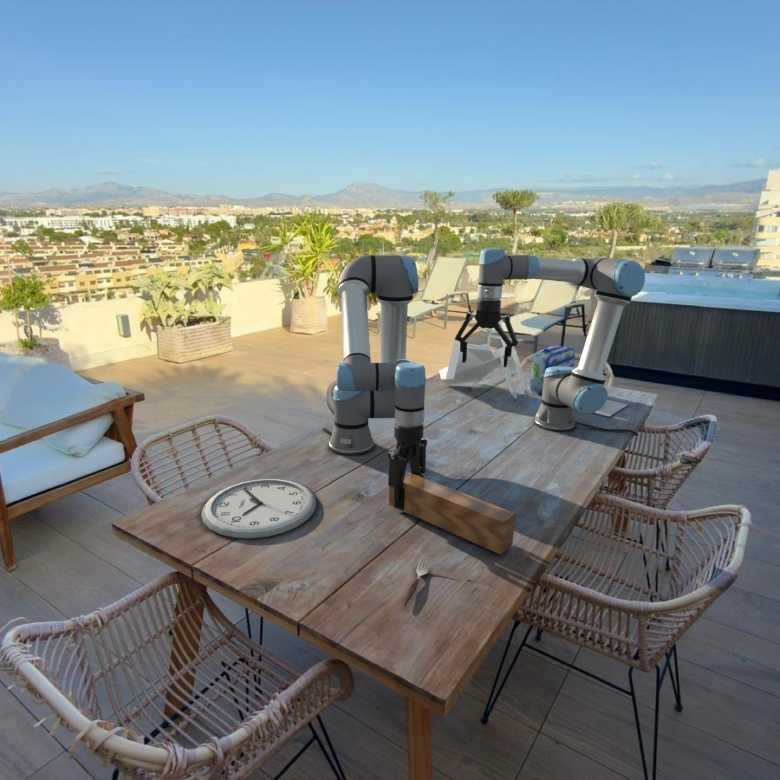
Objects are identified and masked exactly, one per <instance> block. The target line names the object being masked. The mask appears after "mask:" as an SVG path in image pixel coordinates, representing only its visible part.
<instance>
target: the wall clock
mask: <svg viewBox="0 0 780 780" xmlns="http://www.w3.org/2000/svg"><path fill="white" fill-rule="evenodd" d="M316 508H317V499H316V496H315V495H314V493H313V492H312V491H311V490H310V489H308V488H307V487H305V486H304V485H302V484H299V483H297V482H294V481H292V480H291V481H290V480H285V479H277V478H264V479H263V478H262V479H253V480H248V481H242V482H239V483H236V484H233V485H230V486H228V487H226V488H223V489H222V490H220V491H218V492H217V493H216V494H214V495H213V496H212V497H210V498H209V499H208V500H207V501H206V503H205V504H204V506H203V507H202V511H201V520H202V522H203V524H204V525H205V526H206V527H207V529H209V530H210V531H212V532H214V533H216V534H218V535H221V536H225V537H230V538H233V539H260V538H269V537H272V536H277V535H280V534H283V533H286V532H289V531H292V530H293V529H296V528H298V527H300V526H301V525H302V524H304V523H306V522H307V521H308V520H309V519H310V518H311V517H312V515H313V514H314V513H315V510H316Z"/></svg>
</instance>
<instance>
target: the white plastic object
mask: <svg viewBox="0 0 780 780" xmlns="http://www.w3.org/2000/svg"><path fill="white" fill-rule="evenodd" d="M499 325H500V326H501V328H502V330H503V331H504V328H503V325H502V320H500V321H499ZM499 338H500V342H501V345H502V347H500V348H498V349H496V350H495V349H493V348H492V347H491V346H490V344H489V343H488V342H487V343H483V344H479V345H473V346H469V345H468V344H467V358H466V362H465V363H462V356H463V352H460V342H459V341H458V340H455V338H454V340H453V344H452V349H451V353H450V357H449V362H448V366H446V367H444V368H442V369H440V370H439V371H438V372H439V376H440V381H442V383H443V384H444V385H445V386H449V385H458V384H467V383H468V384H469V383H473V384H477V383H480V382H482V381H484V378H485V377H486V376H487V375H489V374H490V373H492V372H494V371H495V370H496V369H497V368H499V367H500V366H502V370H503V373H504V376H505V380H506V383H507V386H508V390H509V393H510V394H511V395H512V397H513V398H514V399H515V400H517V392H516V391H517V390H516V388H515V385H514V381H513V378H512V375H511V371H510V369H509V365H508V364H507V366H506V367H503V365H504V353H505V347H506V346H507V345H506V343H505V342H504V341H503V339H502V338H501V336H500V335H499ZM510 360H513V363H514V366H515V369H516V372H517V376H518V380H519V382H520V385H521V389H522V391H523V393H524V395H525V396H526V397H528V396H531V395H530V389H529V388H528V387H529V386H528V384H527V381H526V378H525V375H524V371H523V369H522V368H523V367H522V366H521V362H520V359H519V355H518V352H517V349H516V347H515V346H513V347H512V354H511V356H510V357H508V361H510Z"/></svg>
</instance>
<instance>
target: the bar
mask: <svg viewBox="0 0 780 780" xmlns="http://www.w3.org/2000/svg"><path fill="white" fill-rule="evenodd" d="M398 483H399V482H398ZM403 487H405V492H404V510H401V511H403V512H405V513H407V514H409V515H411V516H413V517H416V518H418V519H420V520H422V521H424V522H427V523H428V524H431V525H434V526H436V527H437V528H440V529H442V530H445V531H447V532H449V533H451V534H454V535H456V536H458V537H460V538H463V539H465V540H467V541H469V542H472V543H473V544H475V545H478V546H480V547H482V548H485V549H487V550H489V551H492V552H494V553H495V554H498V555H503V553H505V552H506V551H507V550H509V548H510V547H511V546H513V543H514V533H515V523H516V512H513V511H511V510H509V509H506V508H503V507H500V506H497V505H495V504H494V503H493V504H492V503H490V502H487V501H485V500H482V499H480V498H477V497H474V496H472V495H469V494H467V493H464V492H461V491H459V490H457V489H454V488H451V487H448V486H446V485H443V484H440V483H438V482H435V481H433V480H430V479H427V478H425V477H420V476H417V475H415V474H412V472H409V471H407V470H406V472H405V477H404V482H403ZM394 504H395V498H394V488H393V487H390V486H388V505H389V506H391V507H394ZM394 508H396V507H394ZM396 509H397V508H396Z"/></svg>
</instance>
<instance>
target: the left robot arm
mask: <svg viewBox="0 0 780 780" xmlns="http://www.w3.org/2000/svg"><path fill="white" fill-rule="evenodd" d="M417 267H418V266H417V263H416V260H415V258H414V257H413V256H411V255H404V254H362V255H360V256H357V257H355V258H354V259H352V260H351V261H350V262H348V264H347V265H346V266H345V267H344V268H343V270H342V271H341V272H340V276H339V277H338V282H337V296H338V297H339V299H340V301H341V302H340V303H341V330H342V331H341V333H342V335H341V336H342V337H341V338H342V362H339V363H337V364H336V385H335V386H334V388H333V398H332V399H333V421H334V422H333V424H334V425H333V429H332V431H330V430H329V429H328V428H326V427H323V428H322V430H323V431H324V432H325V433H327V434H329V435H331V437H330V438H329V442H328V447H329V449H330V451H332V452H333V453H335V454H339V455H342V456H343V455H344V456H356V455H362V454H367V453H369V452H370V451H372V450H373V448H374V438H373V436H372V431H371V429H370V427H369V419H394V425H393V427H394V428H393V429H394V430H393V437H394V439H395V440H396V445H395V449H394V450H393V451H392V450H389V451H388V453H387V456H388V481H387V482H388V483H387V486H388V487H389V486H390V487H393V488H394V498H395V504H394V508H395V507H396V509H398V510H400V511H402V510H404V492H405V487H403V482H404V477H405V472H406V471H407V467H408V464H409V467H410V471H411V472H410V473H412V474H415V475H417V476H420V477H423V478H425V477H424V476H425V475H424V474H426V471H427V470H426V468H427V467H426V466H427V446H428V445H427V444H428V439H426V438H424V427H425V425H424V423H425V397H426V395H425V394H426V382H427V377H426V367H425V366H424V364H421V363H418V362H413V361H411V360H409V359H407V337H408V334H407V333H408V312H409V311H408V309H409V304H410V303H411V302H412V301H413V300H414V299H413V298H414V295H416V294H418V293H419V286H420V285H419V274H418V268H417ZM370 294H375V296H376V297H375V299H376V301H377V302H378V303H379V304H380V330H379V331H380V333H379V336H380V337H379V338H380V339H379V362H371V345H370V343H371V342H370V329H369V328H370V326H369V311H368V298H369V296H370ZM398 482H399V483H398Z"/></svg>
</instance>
